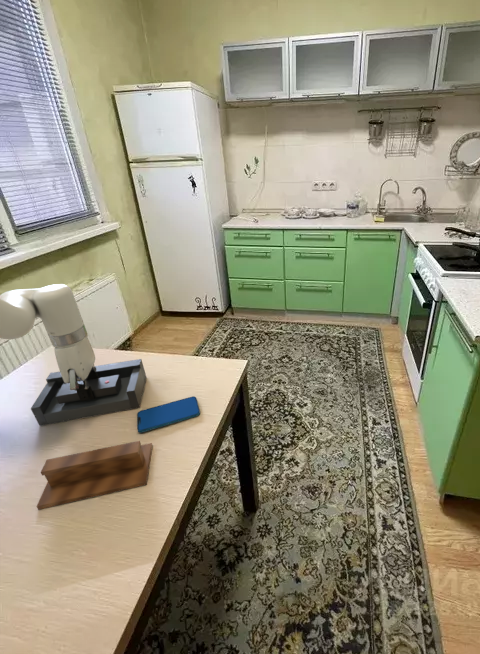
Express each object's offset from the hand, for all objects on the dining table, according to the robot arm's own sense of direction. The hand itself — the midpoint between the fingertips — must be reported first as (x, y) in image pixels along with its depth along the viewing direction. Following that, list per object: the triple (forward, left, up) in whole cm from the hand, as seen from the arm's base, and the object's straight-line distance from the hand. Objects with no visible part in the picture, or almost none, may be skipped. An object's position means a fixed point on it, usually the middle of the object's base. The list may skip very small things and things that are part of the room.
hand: (91, 391), depth 86 cm
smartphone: (+20, -10, -5) cm, 23 cm away
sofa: (0, +2, -5) cm, 5 cm away
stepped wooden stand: (+7, -24, -5) cm, 25 cm away
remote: (0, 0, 0) cm, 0 cm away
